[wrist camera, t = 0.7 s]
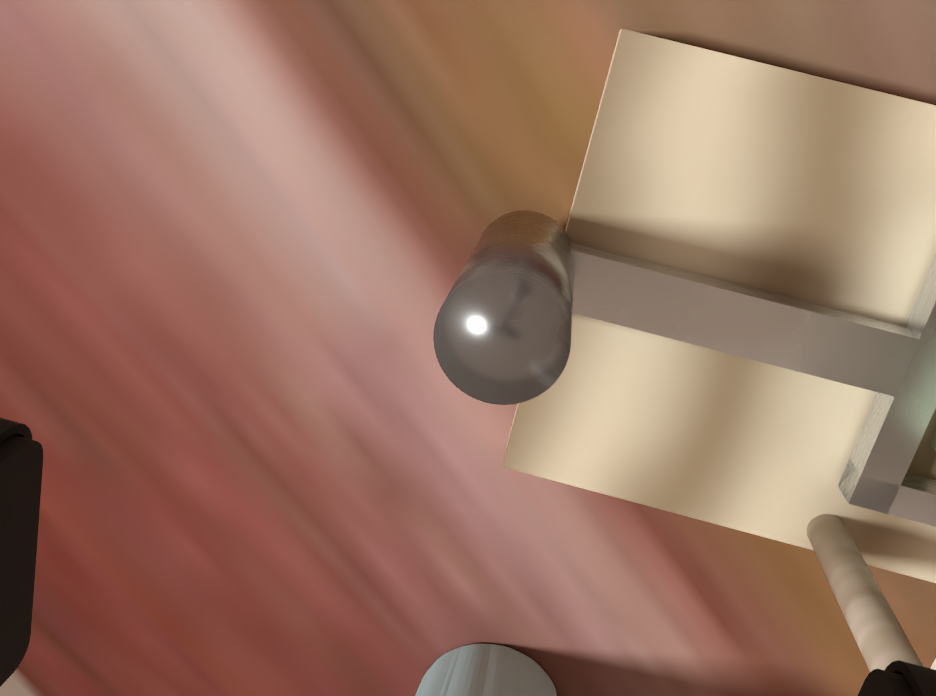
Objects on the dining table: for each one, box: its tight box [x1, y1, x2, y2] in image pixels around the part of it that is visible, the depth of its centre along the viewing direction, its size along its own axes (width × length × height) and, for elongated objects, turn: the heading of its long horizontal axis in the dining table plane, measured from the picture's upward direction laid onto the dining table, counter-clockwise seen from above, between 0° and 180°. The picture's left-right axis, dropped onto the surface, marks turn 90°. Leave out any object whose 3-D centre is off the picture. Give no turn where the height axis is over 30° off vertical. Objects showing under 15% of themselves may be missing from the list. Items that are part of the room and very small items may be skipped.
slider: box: [434, 211, 936, 527], centre depth 23 cm, size 22×9×8 cm, turn 77°
